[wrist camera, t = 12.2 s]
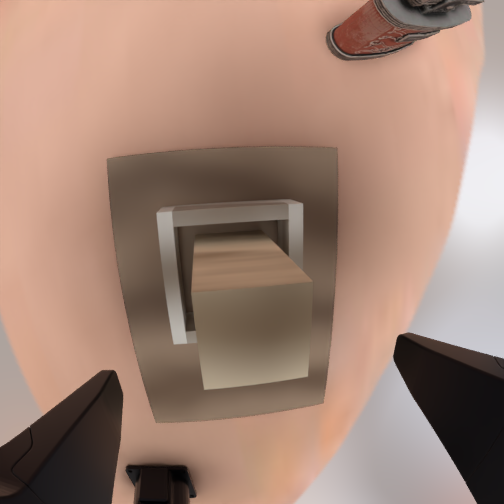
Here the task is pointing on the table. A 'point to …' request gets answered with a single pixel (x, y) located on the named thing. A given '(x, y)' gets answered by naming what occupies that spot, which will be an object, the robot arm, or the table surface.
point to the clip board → (181, 261)
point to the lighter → (394, 26)
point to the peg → (249, 310)
